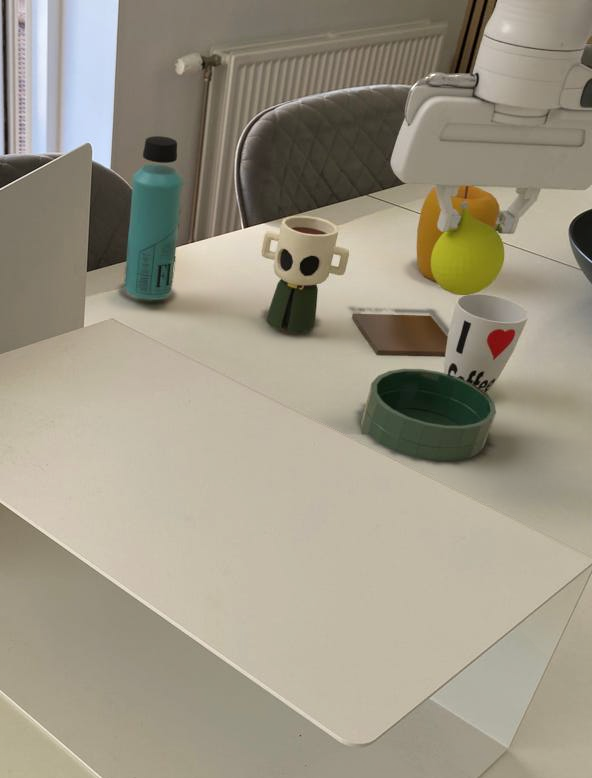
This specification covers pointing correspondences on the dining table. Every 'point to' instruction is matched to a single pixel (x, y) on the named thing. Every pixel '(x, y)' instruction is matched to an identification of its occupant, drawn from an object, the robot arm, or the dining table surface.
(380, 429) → the pot
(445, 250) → the green fig
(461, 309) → the cup
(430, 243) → the orange rounded piece
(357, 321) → the coaster
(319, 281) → the character mug
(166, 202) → the beverage bottle
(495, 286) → the dining table surface
